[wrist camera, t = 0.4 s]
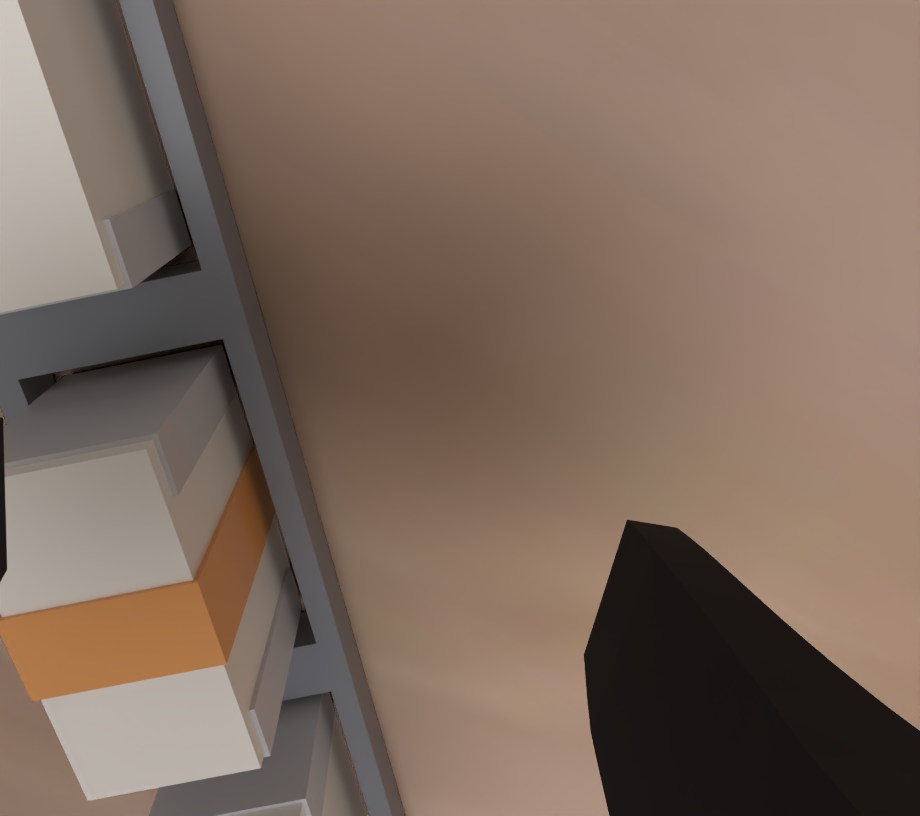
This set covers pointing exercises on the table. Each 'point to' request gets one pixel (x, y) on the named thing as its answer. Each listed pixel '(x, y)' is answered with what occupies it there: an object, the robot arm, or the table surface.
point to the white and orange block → (147, 574)
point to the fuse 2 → (280, 773)
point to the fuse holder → (248, 347)
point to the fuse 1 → (77, 158)
